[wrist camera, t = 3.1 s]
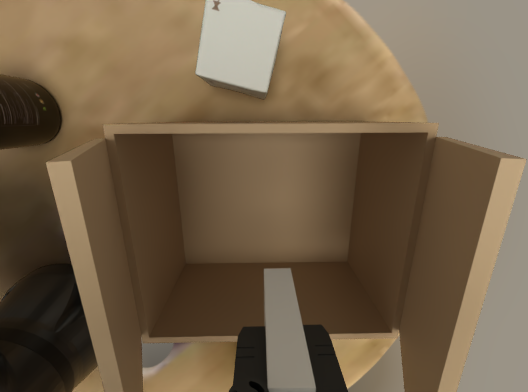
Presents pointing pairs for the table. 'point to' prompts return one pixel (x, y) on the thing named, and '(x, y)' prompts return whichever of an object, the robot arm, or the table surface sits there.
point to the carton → (269, 222)
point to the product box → (239, 45)
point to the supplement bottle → (26, 113)
